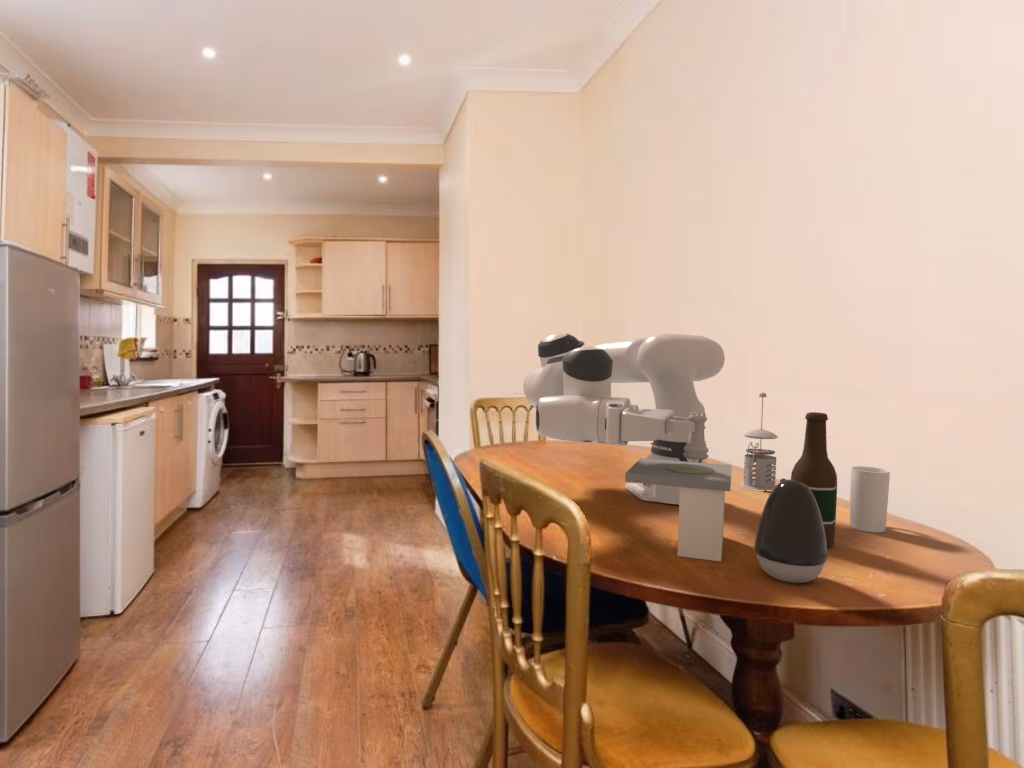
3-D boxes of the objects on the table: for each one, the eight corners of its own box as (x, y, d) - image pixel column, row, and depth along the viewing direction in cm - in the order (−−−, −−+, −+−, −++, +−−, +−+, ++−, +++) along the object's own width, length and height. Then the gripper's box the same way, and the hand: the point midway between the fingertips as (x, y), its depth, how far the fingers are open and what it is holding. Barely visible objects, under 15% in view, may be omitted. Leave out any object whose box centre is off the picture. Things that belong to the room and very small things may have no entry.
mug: (887, 535, 117) (890, 474, 116) (847, 529, 120) (850, 470, 120) (885, 523, 126) (888, 466, 125) (848, 518, 129) (851, 462, 128)
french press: (785, 487, 159) (789, 393, 158) (768, 494, 151) (772, 394, 149) (748, 481, 166) (751, 390, 165) (729, 488, 157) (733, 392, 156)
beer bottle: (816, 551, 106) (822, 415, 105) (778, 539, 113) (783, 411, 112) (844, 546, 110) (850, 414, 108) (806, 534, 116) (811, 410, 115)
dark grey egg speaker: (812, 567, 98) (816, 474, 97) (836, 592, 88) (841, 488, 87) (746, 563, 99) (750, 471, 99) (762, 586, 89) (766, 484, 88)
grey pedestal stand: (623, 550, 104) (625, 471, 104) (638, 525, 120) (640, 456, 120) (727, 564, 99) (730, 480, 98) (728, 535, 114) (731, 463, 114)
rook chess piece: (708, 456, 109) (711, 412, 109) (708, 460, 105) (711, 415, 105) (683, 454, 111) (685, 411, 110) (681, 458, 106) (684, 413, 106)
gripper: (627, 431, 122) (698, 436, 117) (606, 444, 103) (691, 451, 98) (628, 400, 122) (700, 403, 117) (608, 408, 103) (692, 412, 98)
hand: (695, 425), depth 108 cm, fingers closed on rook chess piece, 3 cm apart
